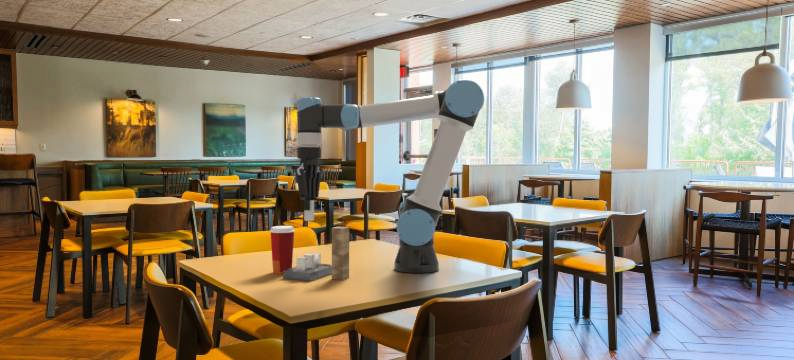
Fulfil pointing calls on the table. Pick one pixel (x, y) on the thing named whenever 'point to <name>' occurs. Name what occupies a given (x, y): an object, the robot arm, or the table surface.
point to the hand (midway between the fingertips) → (309, 220)
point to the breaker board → (308, 269)
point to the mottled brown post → (340, 253)
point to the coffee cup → (282, 247)
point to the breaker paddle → (310, 260)
